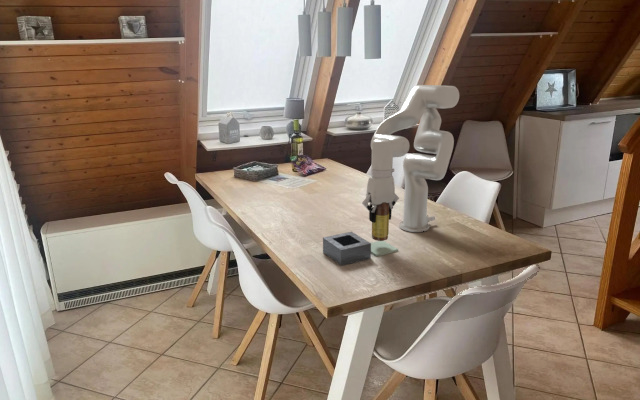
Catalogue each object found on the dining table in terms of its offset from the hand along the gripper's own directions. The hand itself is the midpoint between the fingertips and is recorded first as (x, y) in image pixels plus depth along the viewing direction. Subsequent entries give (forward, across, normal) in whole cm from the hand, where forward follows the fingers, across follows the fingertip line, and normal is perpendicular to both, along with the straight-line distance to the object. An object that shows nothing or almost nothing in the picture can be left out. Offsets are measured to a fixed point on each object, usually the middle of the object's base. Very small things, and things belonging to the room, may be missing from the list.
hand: (380, 219), depth 181 cm
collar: (+12, +14, -1) cm, 18 cm away
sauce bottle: (+8, 0, 0) cm, 8 cm away
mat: (+12, 0, 0) cm, 12 cm away
